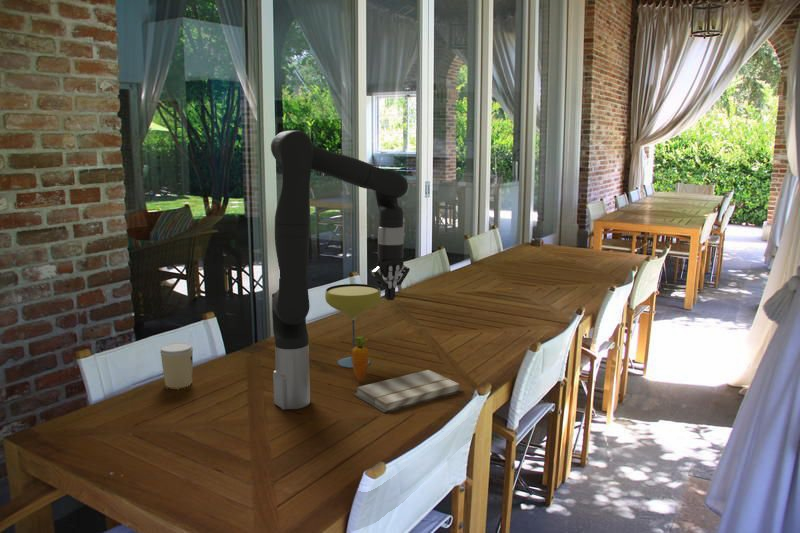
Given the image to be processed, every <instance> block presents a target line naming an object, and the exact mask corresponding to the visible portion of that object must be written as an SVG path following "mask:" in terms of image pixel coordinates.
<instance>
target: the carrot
mask: <svg viewBox="0 0 800 533" xmlns="http://www.w3.org/2000/svg"><path fill="white" fill-rule="evenodd" d="M363 338H364V334H363V335H362V334H361V335H360V336H358V337H355V341H356V345H357V346H356V345H355V347H354V348H353V347H352V349H351V357H352V363H353V368H352V369H353V372H354V375H355V378H356V379H357V381H358V383H360V384H361V383H362V382H363V381H364V379H365V377H366V374H367V370H368V366H369V365H368V360H369V349H368V348H367V347H366V346H364V344H365V342H367V341H369V339H368V338H365V339H364V340H363Z"/></svg>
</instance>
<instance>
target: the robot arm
mask: <svg viewBox="0 0 800 533" xmlns="http://www.w3.org/2000/svg"><path fill="white" fill-rule="evenodd" d="M270 151H271V154H272V156H273V158H274V159H275V160H276V161H277V162H278V163H280V165H281V166H282V167H281V170H282V171H281V174H282V176H281V177H282V185H281V191H280V194H279V199H278V201H277V206H276V210H275V215H274V244H275V245H274V246H275V253H276V259H277V264H278V270H279V281H278V282H279V283H278V289H277V290H276V292H275V293H274V294H273V297H272V300H271V313H272V314H271V315H272V330H273V337H274V350H275V351H274V353H275V354H274V356H275V358H274V359H275V370H273V372H272V374H273V375H272V379H273V403H274V405H276V406H277V407H279V408H280V409H281V410H283V411H284V410H298V409H302V408H305V407H307V406H309V405H310V403H311V391H310V390H311V389H310V388H311V386H310V385H311V384H310V350H309V347H310V346H309V333H308V328H307V318H306V317H307V316H308V314H309V311H310V298H309V297H310V296H309V286H308V264H309V254H310V252H309V250H310V235H311V234H310V231H311V230H310V229H311V224H310V223H311V219H310V212H311V211H310V206H311V205H310V204H311V203H310V202H311V201H310V200H311V199H310V183H311V175H312V171H316V172H320V173H322V174H324V175H328V176H330V177H332V178H336V179H338V180H340V181H342V182H345V183H347V184H351V185H353V186H357V187H359V188H363V189H365V190H366V189H367V190H372V191H374V192H375V193H374V194H375V198H376V203H377V208H378V213H379V214H378V230H377V232H378V233H377V258H378V262H377V263H376V268H374V269H372V270H370V271H369V272H370V274H371V276H372V277H373V278H374V280H375V281H376V282H377V284H378V285H379V286H381V287H384V298H385V299H386V301H394V300H395V298H396V288H397V287H398V286H401V285H402V284H403V282H404V280H405V279H406V277H407V276H408V274H409V272H410V270H411V269H410V267H408V266H406V265H405V264H404V259H403V258H404V250H405V249H404V248H405V247H404V244H405V243H404V242H405V241H404V240H405V239H404V238H405V234H404V210H403V208H402V207H401V206H400V205H399V203H398V199H399V198H401V197H403V196H404V195H406V194H407V192H408V189H409V183H408V181H407V179H406V178H405V176H403V174H401V173H399V172H395V171H392V170H388V169H386V168H385V169H384V168H381V167H378V166H375V165H373V164H371V163H368V162H365V161H363V160H360V159H358V158H355V157H351V156H349V155H345V154H341V153H338V152H333V151H331V150H326V149H324V148H322V147H319V146H317V145H315V144H313V142H312V140H311V138H310V137H309V135H308V134H306V133H305V132H303V131H301V130H283V131H281V132H279V133H278V134H276V135H275V136H274V137H273V139H272V140H271V143H270ZM381 275H382V276H381Z"/></svg>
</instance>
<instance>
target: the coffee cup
mask: <svg viewBox="0 0 800 533" xmlns="http://www.w3.org/2000/svg"><path fill="white" fill-rule="evenodd" d="M193 351H194V347H193V346H192V344H191V343H188V342H173V343H168V344H165V345H163V346H162V347H161V348H160V350H159V353H160V357H161V358H160V359H161V364H162V365H161V366H162V371H163V372H162V374H163V380H164V385H166V386H168V387H176V388H177V387H185V386H188V385H190V384H191V383H192V384H193V361H194V360H193V357H194V356H193ZM166 386H165V387H166Z"/></svg>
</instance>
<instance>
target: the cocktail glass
mask: <svg viewBox="0 0 800 533" xmlns="http://www.w3.org/2000/svg"><path fill="white" fill-rule="evenodd" d="M324 292H325V294H324V296H325V297H324V298H325V301H326V303H327V305H329V306H330V307H331V308H332V309H335V310H337V311H340V312H342V313H344V314H345V315H347V317H348V318H349V319H350V320H351V321H352V323H351V324H352V349H353V348H354V347H356V343H355V341H356V339H355V338H356V337H355V320H357V319H358V317H359V316H360V315H361V314H363V313H364V312H366V311H368V310H370V309H372V308H374V307H375V306H376V305H378V304H379V303H380V301H381V296H382V295H381V294H382V293H381V288H379V287H378V286H377V285H372V284H364V283H363V284H362V283H346V284H345V283H344V284H337V285H331V286H330V287H328V288H326V290H325V291H324ZM370 364H371V360H370V359H368V366H369V365H370ZM337 365H338V366H340V367H342V368H346V369H353V363H352V356H348V357H343V358H341V359H339V360H338V361H337Z"/></svg>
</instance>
